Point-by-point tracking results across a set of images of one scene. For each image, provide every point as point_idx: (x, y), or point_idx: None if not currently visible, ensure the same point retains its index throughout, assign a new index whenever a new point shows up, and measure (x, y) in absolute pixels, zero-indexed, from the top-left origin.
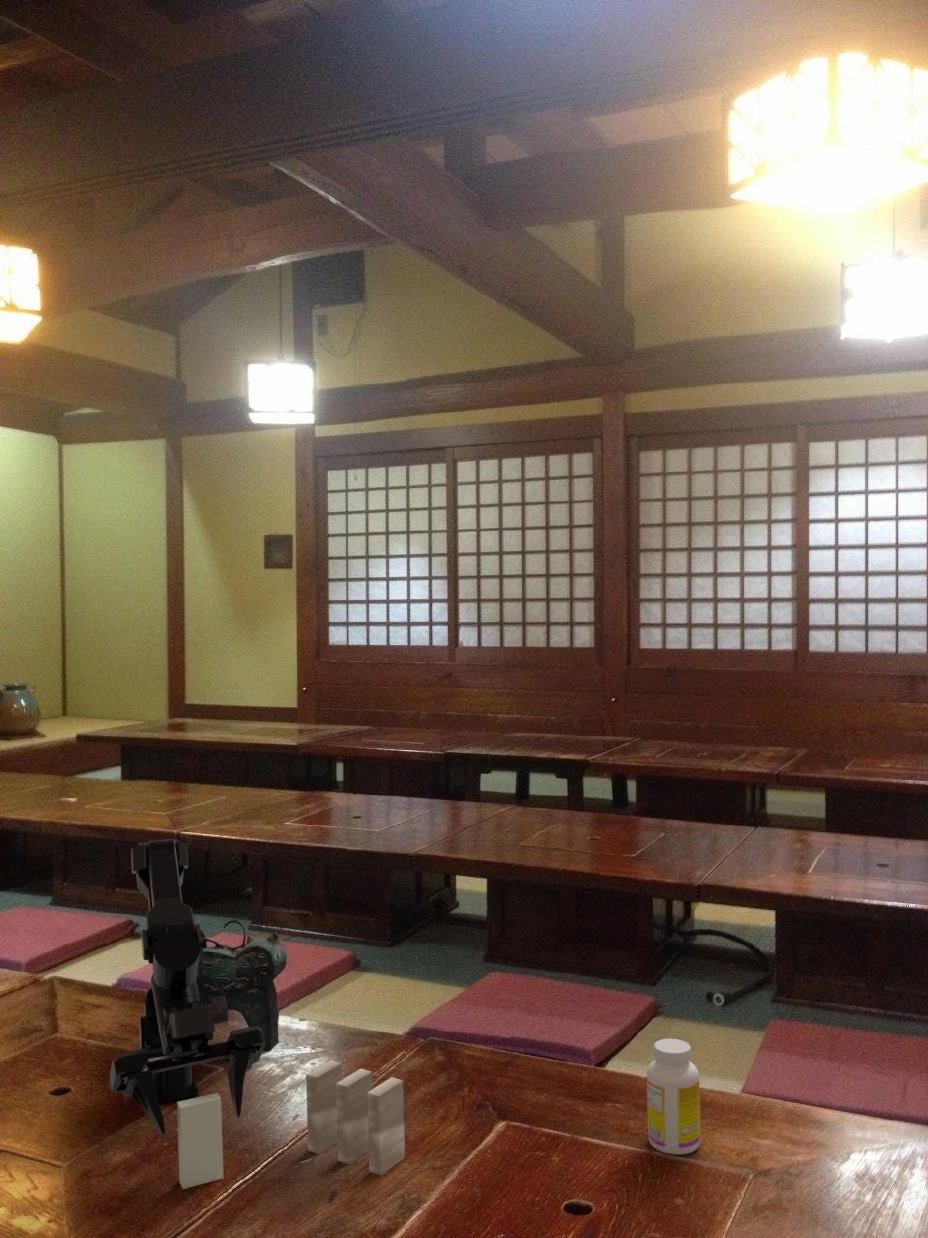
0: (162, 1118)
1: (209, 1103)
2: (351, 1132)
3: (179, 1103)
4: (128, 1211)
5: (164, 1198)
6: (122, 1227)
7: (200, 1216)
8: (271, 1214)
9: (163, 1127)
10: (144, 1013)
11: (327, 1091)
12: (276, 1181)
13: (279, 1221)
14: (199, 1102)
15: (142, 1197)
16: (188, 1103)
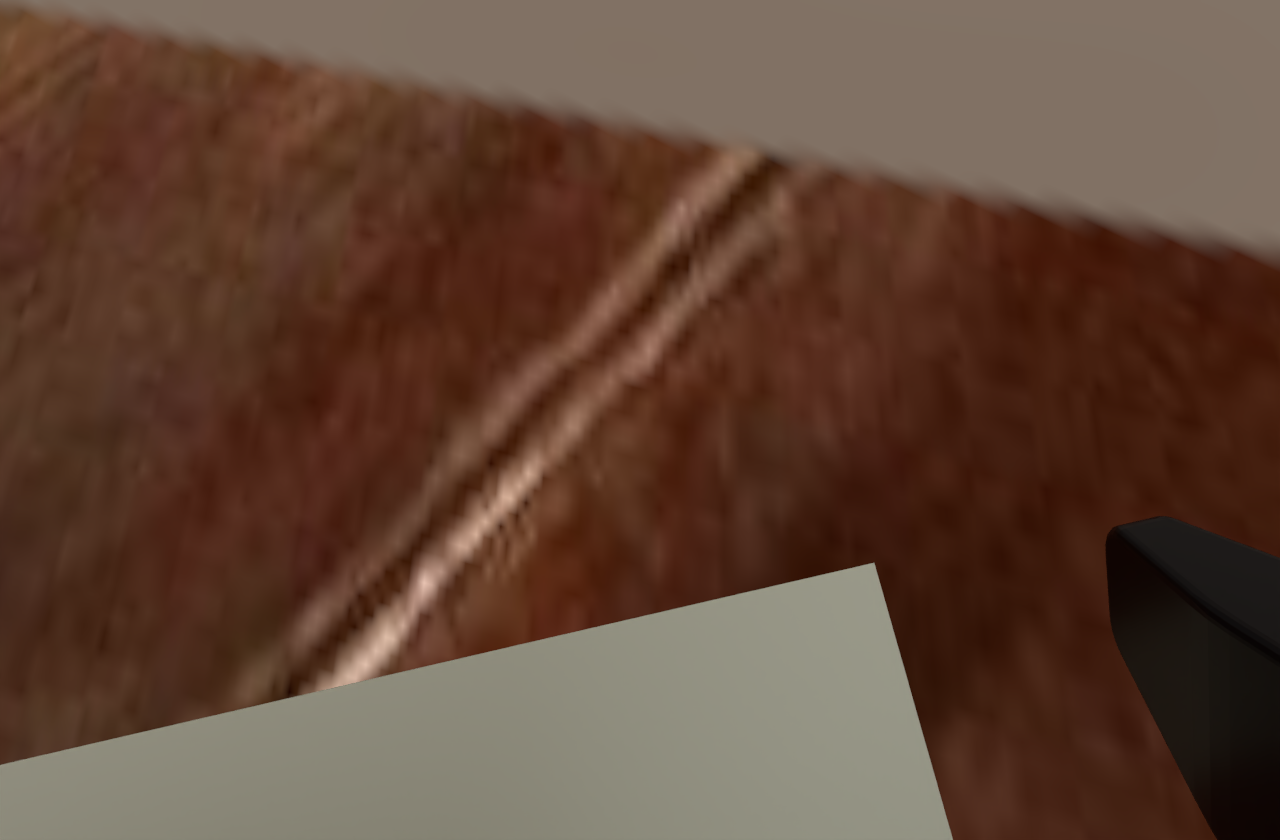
0: (1241, 621)
1: (233, 711)
2: None
3: (910, 819)
4: (1271, 477)
5: (974, 602)
6: (1272, 262)
7: (675, 273)
8: (202, 191)
9: (1163, 553)
10: None
11: None
12: (66, 611)
13: (173, 107)
14: (429, 729)
15: None
16: (685, 757)
